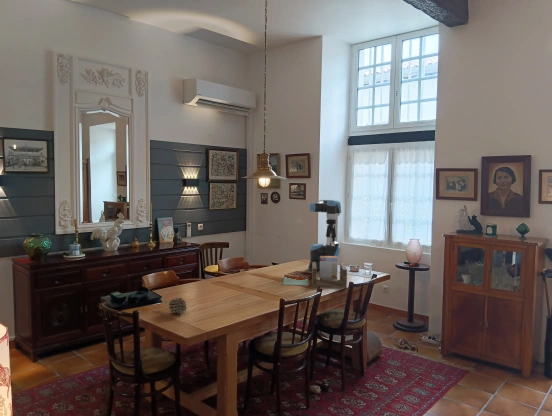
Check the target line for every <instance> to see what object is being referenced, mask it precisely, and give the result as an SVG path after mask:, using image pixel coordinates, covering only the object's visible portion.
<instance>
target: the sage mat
mask: <svg viewBox="0 0 552 416" xmlns="http://www.w3.org/2000/svg"><path fill="white" fill-rule="evenodd" d="M287 277H288V276H284V277H283V281H282V285H283V286H303V287H304V286H307V287H308V286H309V285H310V284H309V278H308V279H305V280H296V279H291V278H287Z"/></svg>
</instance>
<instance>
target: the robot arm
mask: <svg viewBox="0 0 552 416" xmlns="http://www.w3.org/2000/svg"><path fill="white" fill-rule="evenodd" d="M341 205H342V204H341V201H340V200H336V199H320V200H317V201H315V202H310V203H309V212H310V213H311V212H312V213H326V214H325V216H326V222H325V224H326V225H327V227H326V233H325V237H326V243H325V245H324V243H314V244H311V245H310V252H309V253H310V254H309V255H310V260H309V263H308V266H307V269H308V271H311V272H312V262H316V267H317V272H320V256H337V257H338V259H339V258H340V252H341V245H340V244H339V242H338V228H339V227H338V226H339V225H338V224H339V217H340V215H341V213H342V206H341Z"/></svg>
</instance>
